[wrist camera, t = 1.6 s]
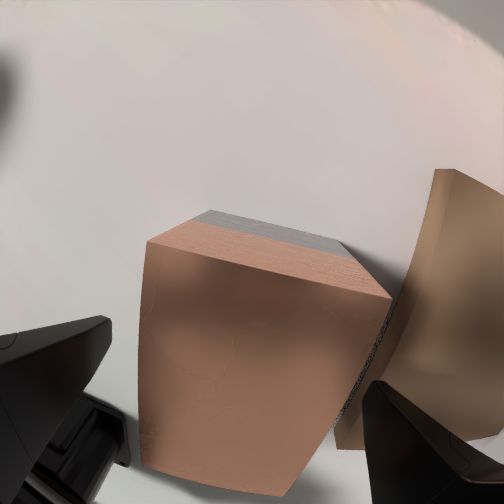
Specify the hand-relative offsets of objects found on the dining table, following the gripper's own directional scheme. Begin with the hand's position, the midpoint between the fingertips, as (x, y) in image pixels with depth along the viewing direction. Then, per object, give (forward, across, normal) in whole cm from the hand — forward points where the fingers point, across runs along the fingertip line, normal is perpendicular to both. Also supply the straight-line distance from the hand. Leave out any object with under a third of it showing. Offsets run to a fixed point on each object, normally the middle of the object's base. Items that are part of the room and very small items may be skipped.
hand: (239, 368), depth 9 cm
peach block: (+4, 0, 0) cm, 4 cm away
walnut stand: (+4, -13, -1) cm, 14 cm away
